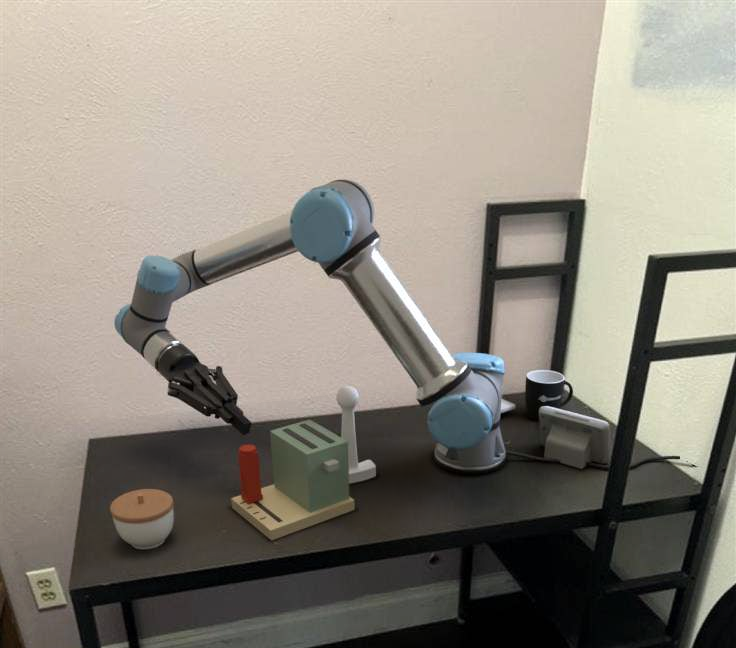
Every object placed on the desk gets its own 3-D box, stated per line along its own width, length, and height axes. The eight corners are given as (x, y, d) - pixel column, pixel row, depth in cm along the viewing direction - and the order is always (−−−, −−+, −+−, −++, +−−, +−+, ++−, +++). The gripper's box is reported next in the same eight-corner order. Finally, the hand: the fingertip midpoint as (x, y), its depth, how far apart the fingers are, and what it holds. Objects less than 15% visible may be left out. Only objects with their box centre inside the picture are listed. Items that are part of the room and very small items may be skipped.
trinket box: (114, 559, 135) (104, 512, 131) (120, 527, 145) (111, 483, 140) (177, 553, 137) (170, 506, 132) (179, 522, 146) (172, 478, 141)
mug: (531, 425, 184) (535, 384, 179) (516, 411, 192) (520, 371, 186) (578, 420, 186) (583, 380, 181) (561, 406, 194) (566, 367, 189)
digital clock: (613, 464, 166) (621, 418, 160) (587, 477, 161) (594, 429, 156) (553, 440, 177) (558, 396, 171) (527, 451, 172) (531, 406, 166)
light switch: (458, 412, 191) (459, 392, 189) (488, 403, 196) (489, 384, 194) (486, 425, 184) (487, 405, 182) (516, 415, 189) (518, 396, 187)
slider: (241, 498, 149) (235, 447, 144) (255, 493, 151) (251, 442, 146) (248, 504, 147) (243, 452, 142) (263, 499, 149) (259, 448, 144)
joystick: (327, 487, 158) (323, 394, 148) (316, 471, 164) (311, 381, 154) (378, 478, 161) (378, 386, 151) (365, 463, 167) (364, 374, 157)
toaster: (231, 508, 151) (224, 440, 144) (312, 481, 160) (309, 416, 153) (273, 542, 140) (267, 471, 133) (357, 511, 149) (356, 443, 142)
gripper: (196, 365, 162) (270, 432, 154) (143, 383, 154) (217, 455, 146) (200, 335, 157) (276, 403, 149) (145, 352, 149) (222, 425, 141)
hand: (247, 428), depth 147 cm, fingers closed
